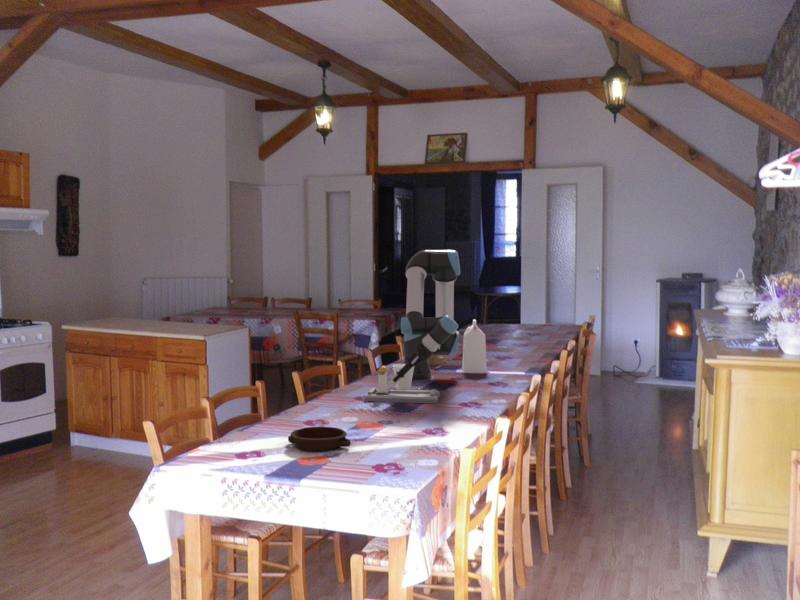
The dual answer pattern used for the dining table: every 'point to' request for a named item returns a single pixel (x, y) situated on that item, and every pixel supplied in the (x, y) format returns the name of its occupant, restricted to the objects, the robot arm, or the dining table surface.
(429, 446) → the dining table surface
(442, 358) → the candle holder
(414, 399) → the switch panel
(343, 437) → the dish
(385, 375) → the lever
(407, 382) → the cup
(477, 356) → the milk
